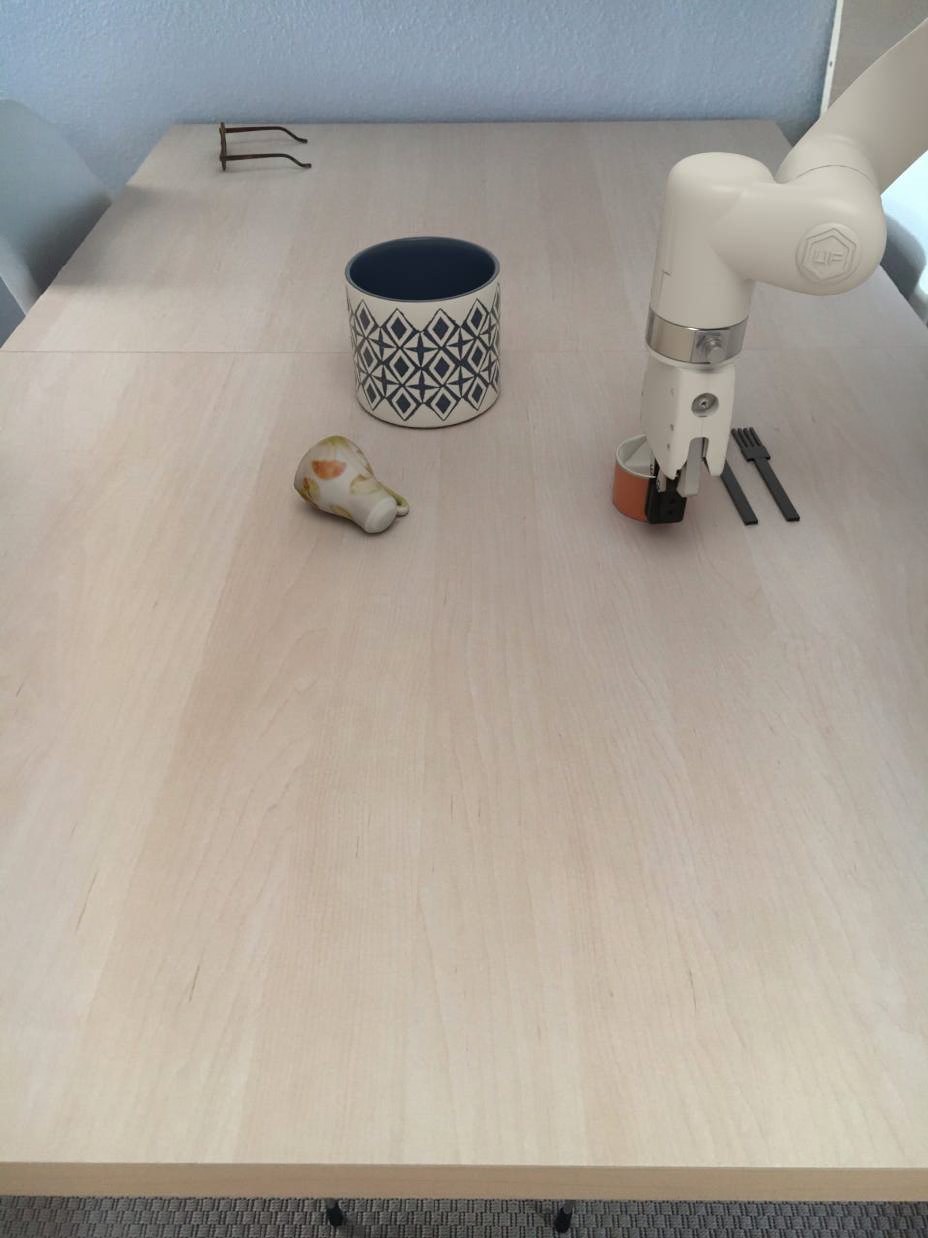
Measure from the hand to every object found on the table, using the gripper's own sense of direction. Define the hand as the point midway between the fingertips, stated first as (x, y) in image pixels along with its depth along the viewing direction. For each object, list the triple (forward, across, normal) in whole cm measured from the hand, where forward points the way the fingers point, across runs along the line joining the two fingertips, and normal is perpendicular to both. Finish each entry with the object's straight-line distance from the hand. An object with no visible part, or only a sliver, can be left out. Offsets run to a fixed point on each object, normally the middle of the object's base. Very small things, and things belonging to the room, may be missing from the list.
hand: (662, 517), depth 89 cm
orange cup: (+2, +6, 0) cm, 6 cm away
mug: (+3, +8, +27) cm, 29 cm away
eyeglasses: (+4, +110, +39) cm, 116 cm away
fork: (+2, +8, -13) cm, 16 cm away
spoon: (+2, +8, -9) cm, 13 cm away
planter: (+3, +29, +19) cm, 34 cm away
